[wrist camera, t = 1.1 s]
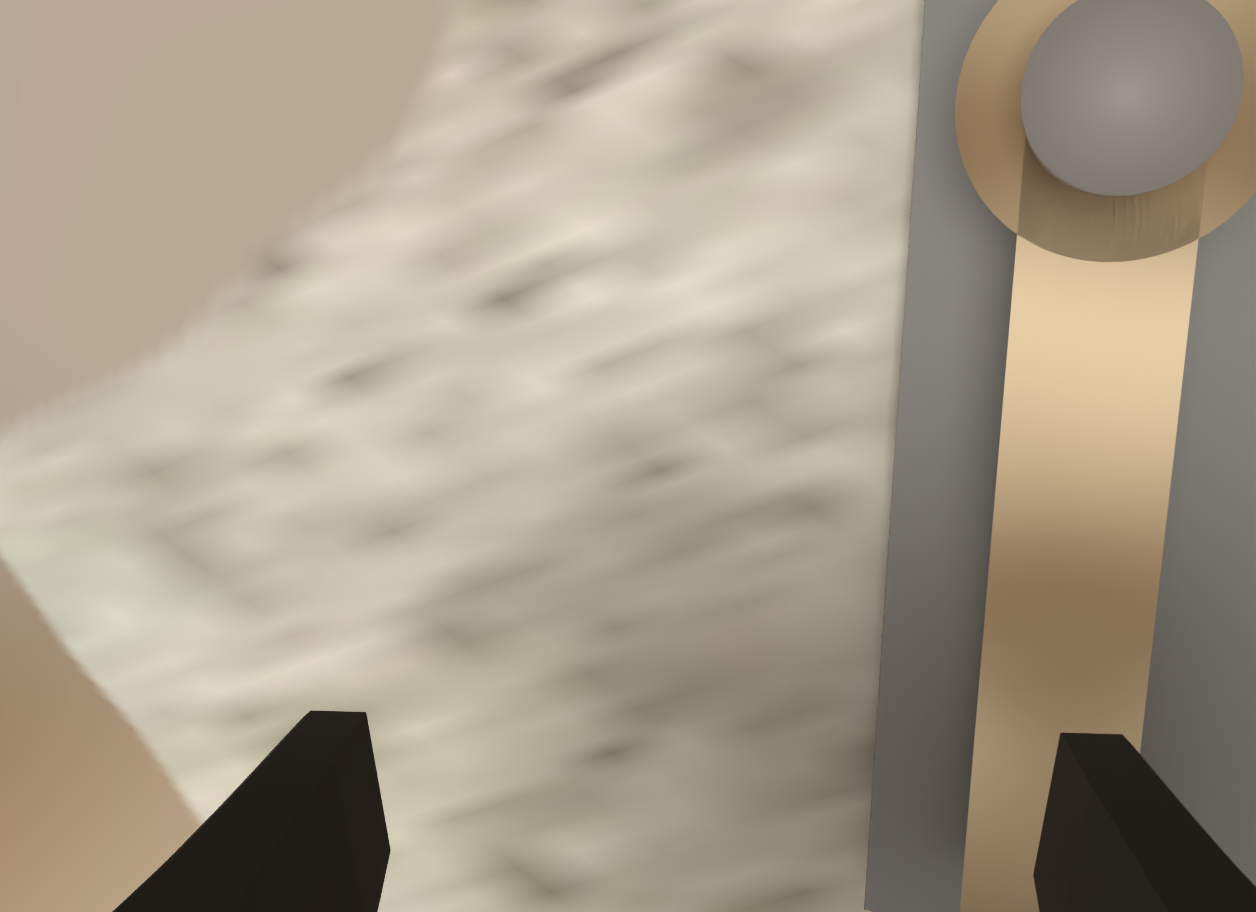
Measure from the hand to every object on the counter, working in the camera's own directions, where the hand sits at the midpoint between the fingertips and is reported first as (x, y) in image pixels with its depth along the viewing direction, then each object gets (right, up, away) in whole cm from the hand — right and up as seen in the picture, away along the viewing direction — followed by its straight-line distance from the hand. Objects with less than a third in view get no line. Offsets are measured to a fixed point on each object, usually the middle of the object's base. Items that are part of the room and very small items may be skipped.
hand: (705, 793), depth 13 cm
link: (+7, +3, +8) cm, 11 cm away
